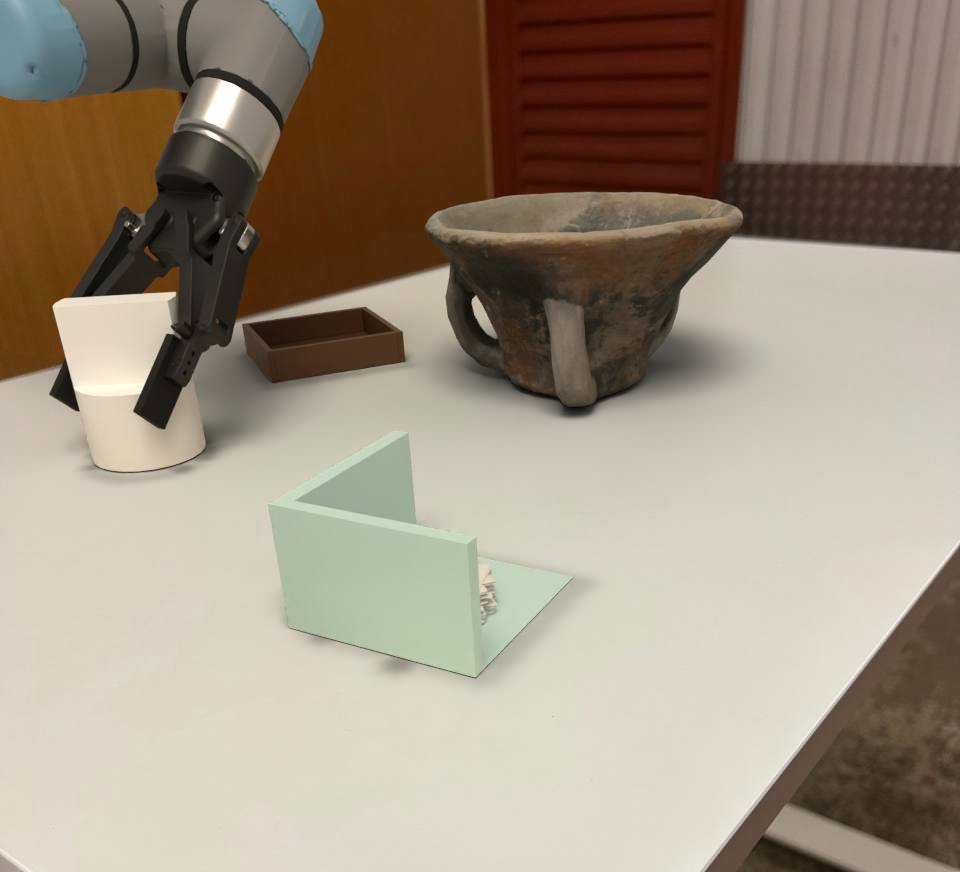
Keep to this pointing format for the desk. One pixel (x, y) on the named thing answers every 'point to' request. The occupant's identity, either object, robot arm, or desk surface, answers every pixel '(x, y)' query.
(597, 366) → the bowl
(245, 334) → the tray
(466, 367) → the desk surface
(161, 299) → the base with upright slab
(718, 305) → the desk surface
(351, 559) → the l-shaped corner panel
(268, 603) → the desk surface
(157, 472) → the desk surface
